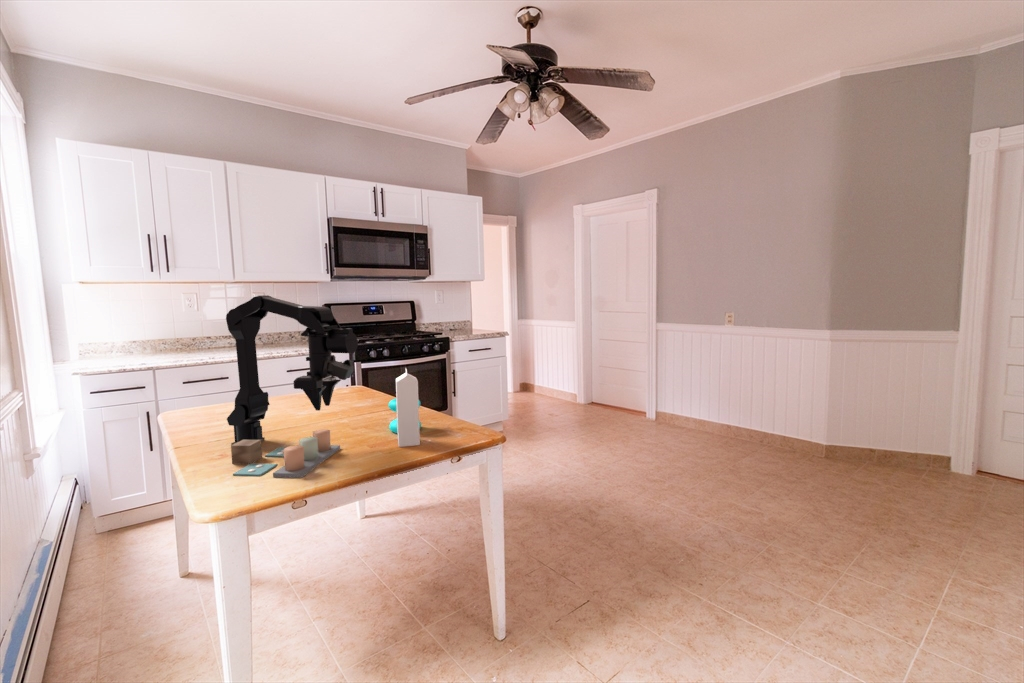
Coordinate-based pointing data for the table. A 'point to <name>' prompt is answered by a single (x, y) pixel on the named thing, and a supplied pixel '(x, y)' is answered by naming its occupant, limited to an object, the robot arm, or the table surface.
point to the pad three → (276, 452)
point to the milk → (407, 410)
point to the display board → (307, 464)
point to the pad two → (255, 469)
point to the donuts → (394, 423)
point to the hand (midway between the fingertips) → (322, 407)
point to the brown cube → (246, 451)
